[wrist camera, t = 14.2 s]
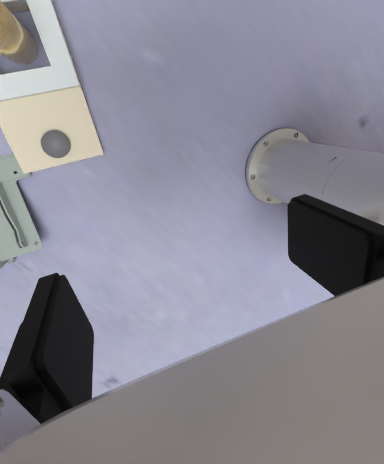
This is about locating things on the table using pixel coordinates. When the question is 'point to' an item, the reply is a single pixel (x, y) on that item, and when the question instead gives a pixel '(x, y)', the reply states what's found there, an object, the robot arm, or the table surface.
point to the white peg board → (46, 101)
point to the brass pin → (15, 39)
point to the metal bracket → (14, 214)
